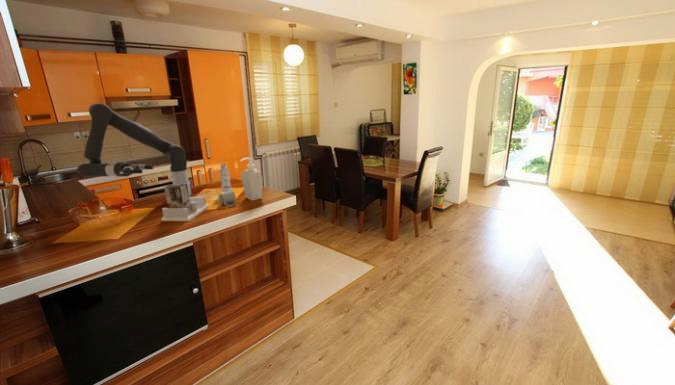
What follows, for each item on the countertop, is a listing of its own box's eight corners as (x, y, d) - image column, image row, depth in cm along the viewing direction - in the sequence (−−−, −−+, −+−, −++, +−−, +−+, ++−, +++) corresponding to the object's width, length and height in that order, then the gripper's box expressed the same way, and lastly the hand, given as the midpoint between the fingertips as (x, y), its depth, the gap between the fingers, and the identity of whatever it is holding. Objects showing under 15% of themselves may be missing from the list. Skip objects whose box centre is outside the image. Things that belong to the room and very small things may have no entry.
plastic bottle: (222, 196, 199) (218, 166, 193) (221, 193, 205) (217, 164, 199) (233, 194, 202) (229, 164, 196) (231, 192, 208) (227, 163, 202)
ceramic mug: (219, 203, 185) (217, 191, 183) (232, 200, 190) (231, 188, 188) (225, 208, 177) (223, 196, 175) (238, 205, 182) (237, 193, 180)
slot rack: (184, 207, 181) (182, 196, 179) (208, 207, 180) (206, 196, 178) (161, 220, 161) (159, 209, 159) (189, 221, 160) (187, 209, 158)
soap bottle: (240, 197, 195) (236, 157, 188) (255, 194, 202) (251, 155, 194) (249, 202, 186) (245, 160, 179) (264, 198, 193) (260, 157, 185)
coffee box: (192, 212, 168) (187, 183, 163) (185, 216, 162) (180, 187, 157) (176, 211, 169) (171, 183, 164) (169, 216, 163) (163, 186, 158)
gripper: (106, 165, 156) (136, 165, 155) (126, 159, 169) (154, 159, 168) (110, 180, 158) (139, 179, 157) (129, 173, 172) (157, 172, 171)
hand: (147, 169), depth 163 cm, fingers open, 8 cm apart
